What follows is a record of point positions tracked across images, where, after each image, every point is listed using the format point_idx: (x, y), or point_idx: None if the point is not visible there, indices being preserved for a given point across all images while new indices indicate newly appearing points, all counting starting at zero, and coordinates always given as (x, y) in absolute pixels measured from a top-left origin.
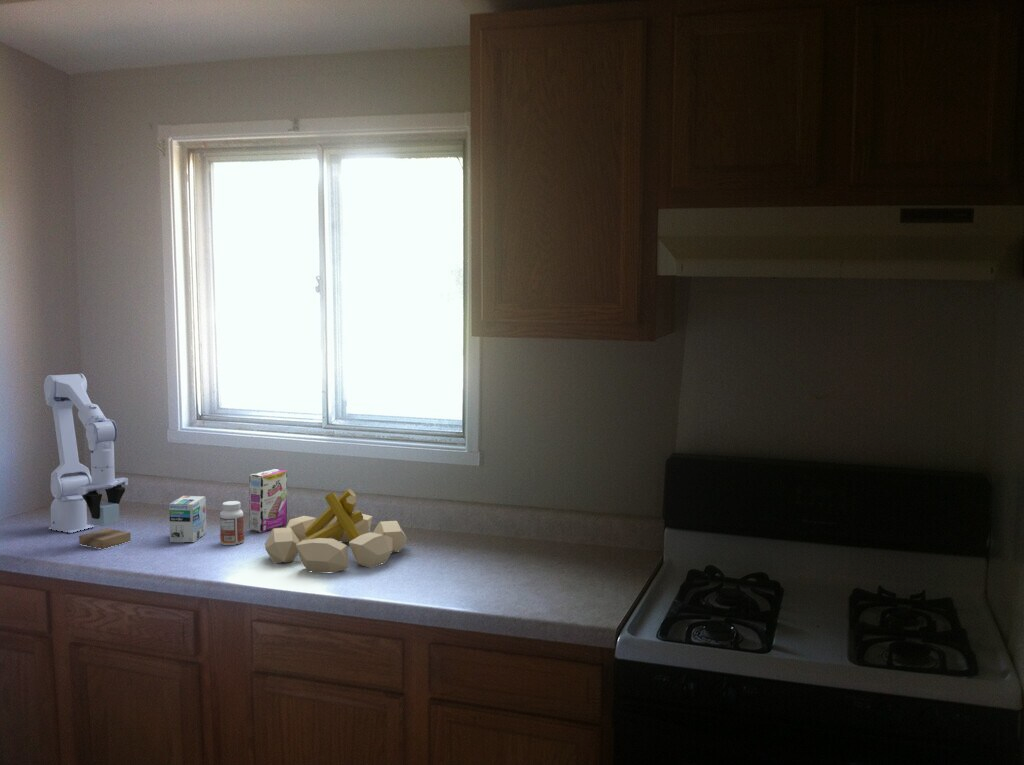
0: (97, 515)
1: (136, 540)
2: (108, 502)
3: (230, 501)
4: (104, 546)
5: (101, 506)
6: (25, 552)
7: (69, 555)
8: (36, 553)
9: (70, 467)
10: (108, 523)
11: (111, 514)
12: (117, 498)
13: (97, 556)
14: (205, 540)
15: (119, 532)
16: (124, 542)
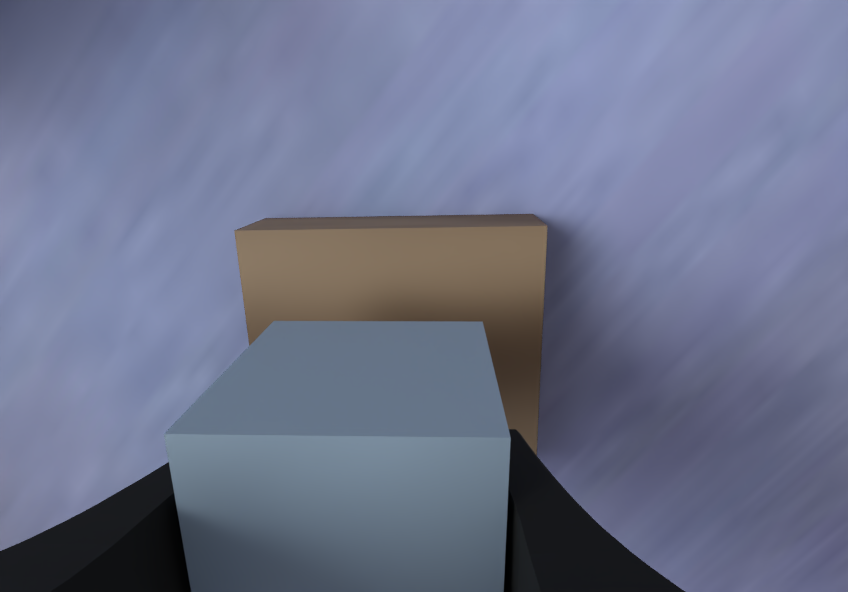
0: (527, 448)
1: (215, 209)
2: None
3: None
4: (520, 218)
5: (448, 537)
6: (801, 584)
7: (759, 299)
8: (796, 517)
9: None
10: (419, 329)
11: (360, 367)
12: (88, 558)
13: (702, 83)
14: None
15: (291, 312)
16: (322, 219)
